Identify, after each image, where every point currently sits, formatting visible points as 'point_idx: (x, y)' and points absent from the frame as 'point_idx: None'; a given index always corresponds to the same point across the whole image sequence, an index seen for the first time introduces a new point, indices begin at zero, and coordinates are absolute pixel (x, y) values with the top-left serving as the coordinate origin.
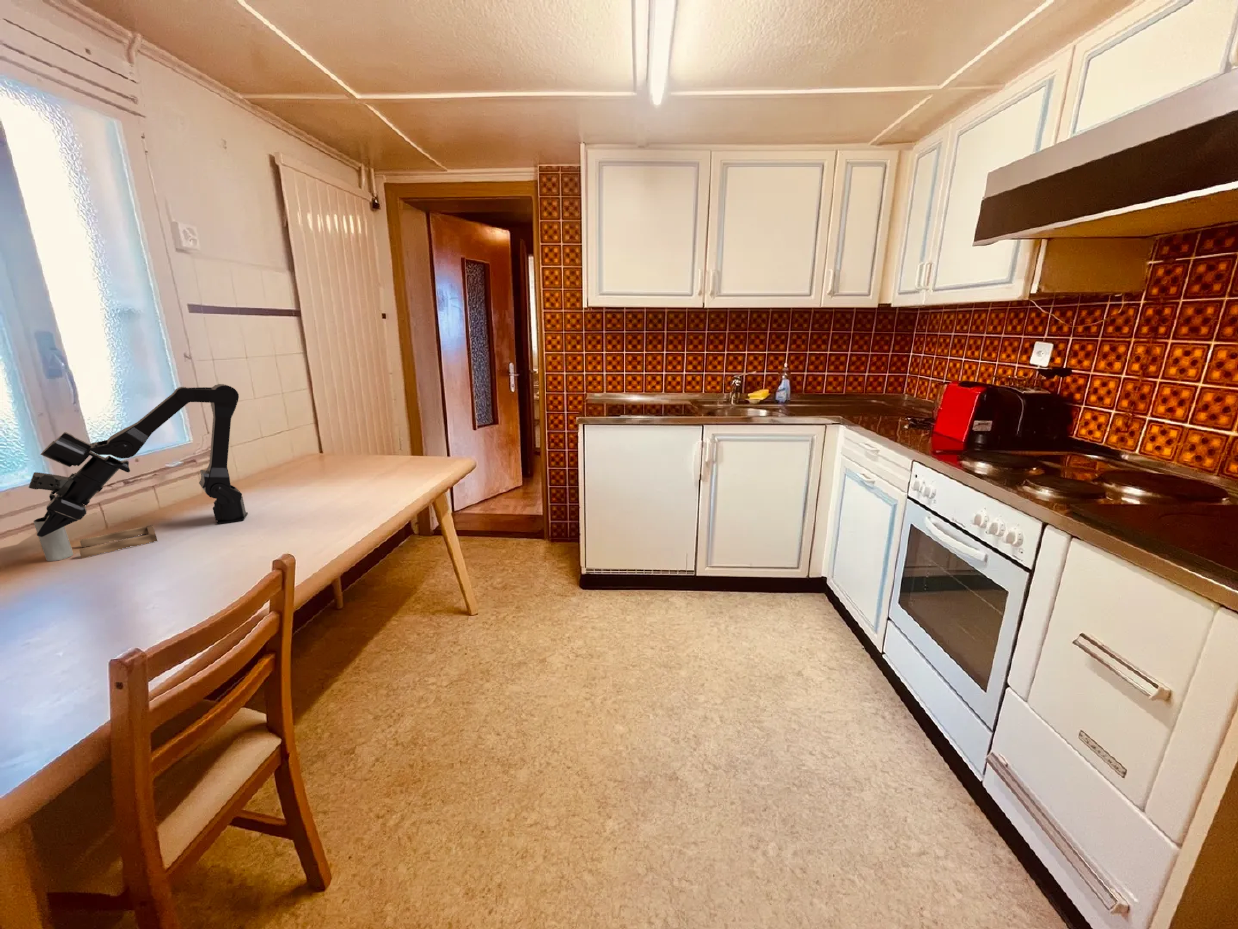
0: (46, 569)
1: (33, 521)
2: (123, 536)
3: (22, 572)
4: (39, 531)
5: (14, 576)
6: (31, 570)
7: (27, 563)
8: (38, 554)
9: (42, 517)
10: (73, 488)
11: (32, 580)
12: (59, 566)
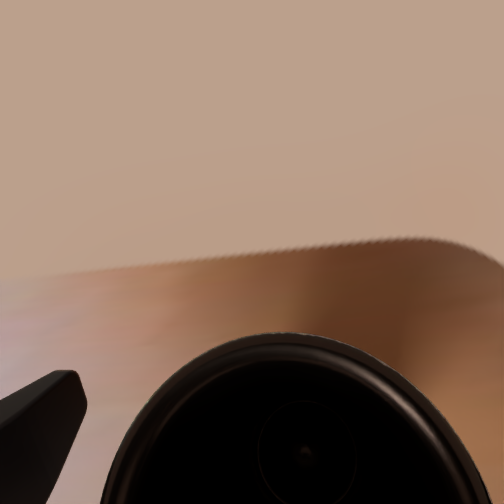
0: (130, 389)
1: (255, 335)
2: None
3: (183, 298)
4: (8, 401)
5: (151, 275)
6: (179, 329)
7: (327, 304)
8: (483, 339)
9: (449, 456)
10: None
11: (18, 343)
12: None
